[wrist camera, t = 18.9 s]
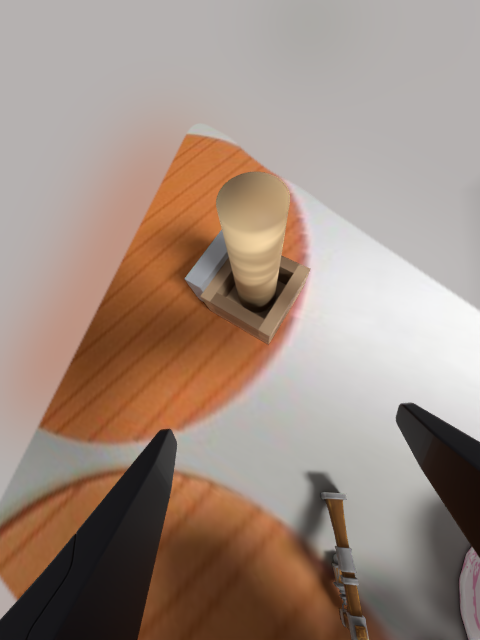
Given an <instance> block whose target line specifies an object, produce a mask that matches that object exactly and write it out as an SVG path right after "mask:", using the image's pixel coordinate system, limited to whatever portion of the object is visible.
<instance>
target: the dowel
mask: <svg viewBox="0 0 480 640" xmlns="http://www.w3.org/2000/svg"><path fill="white" fill-rule="evenodd" d="M289 204H290V194H289V190H288V188H287V186H286V185H285V184H284V183H283V181H281V180H280V179H279V178H277V177H276V176H274V175H271V174H268V173H264V172H248V173H243V174H240V175H238V176H236V177H234V178H232V179H230V180H229V181H228V182H226V183H225V184H224V185H223V187H222V188H221V189H220V191H219V193H218V196H217V199H216V207H217V212H218V216H219V220H220V224H221V228H222V232H223V236H224V240H225V244H226V248H227V252H228V256H229V260H230V264H231V268H232V272H233V276H234V280H235V284H236V288H237V292H238V296H239V300H240V303H241V305H242V306H243V307H244V308H246V309H247V310H249V311H251V312H254V313H259V312H263V311H266V310H267V309H269V308H270V307H271V305H272V304H273V302H274V299H275V292H276V286H277V280H278V273H279V267H280V261H281V254H282V248H283V242H284V235H285V229H286V223H287V216H288V210H289Z"/></svg>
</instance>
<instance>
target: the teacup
mask: <svg viewBox="0 0 480 640" xmlns="http://www.w3.org/2000/svg"><path fill="white" fill-rule="evenodd" d="M459 590H460V612H461V616H462V619H463V623H464V626H465V630H466V633H467V636H468V640H480V558H479V557H478V555H477V553H476V552H475V550H474V549H473V547H471V548H470V550H469V551H468V552H467V554H466V556H465V560H464V564H463V568H462V571H461V575H460V579H459Z"/></svg>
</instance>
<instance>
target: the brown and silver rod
mask: <svg viewBox="0 0 480 640" xmlns="http://www.w3.org/2000/svg"><path fill="white" fill-rule="evenodd" d="M320 495H321V499H325V501H326V504H327V507H328V510H329V514H330V518H331V522H332V526H333V530H334V534H335V539H336V544H337V546H335V548H336V552H337V554H334V557H333V559H334V562H335V563H332V566H333V570H334V575H335V582H333V584H334V585H335V586H336V587H337V588H339V589H340V591H339V592H340V593H341V594H339V596H340V597H341V598H342V599H343V601H344V602H343V604H342V608H339V612H340V619H341V620H342V624H343V625H344V626H345V627H347V628H348V629H349V630H350V633H351V640H369V637H368V632H367V627H366V618H365V617H364V616H363V615H362V611H361V606H360V600H359V595H358V590H357V585H359V583H358V579H357V578H356V577H355V573H357V572H356V569H355V566H354V562H353V557H352V549H351V548H349V544H348V539H347V534H346V526H345V519H344V511H343V500H347V499H346V494H344V493H327V492H323V493H320ZM346 600H347V603H346ZM344 605H345V606H346V605H347V609H344Z"/></svg>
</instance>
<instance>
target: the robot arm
mask: <svg viewBox="0 0 480 640" xmlns="http://www.w3.org/2000/svg"><path fill="white" fill-rule="evenodd" d="M396 422H397V425H398V427H399V428H400V430H401V432H402V434H403V436H404V438H405V440H406V442H407V443H408V445H409V447H410V449H411V451H412V453H413V455H414V456H415V458H416V460H417V462H418V464H419V466H420V467H421V469H422V470H423V472H424V474H425V475H426V477H427V478H428V480H429V481H430V483H431V484H432V486H433V488H434V489H435V491H436V492H437V494H438V495H439V497H440V498H441V500H442V501H443V503H444V504H445V506H446V507H447V509H448V511H449V512H450V514H451V515H452V517H453V518H454V520H455V521H456V523H457V524H458V526H459V527H460V529H461V530H462V532H463V534H464V535H465V537H466V538H467V540H468V541H469V543H470V544H471V546H472V547H473V549H474V550H475V552H476V553H477V555H478V557H479V558H480V442H479V441H477V440H475V439H474V438H472V437H470V436H469V435H467V434H465V433H463V432H462V431H460V430H458V429H457V428H455V427H453V426H452V425H450V424H448V423H446V422H445V421H443V420H441V419H440V418H438V417H436V416H435V415H433V414H431V413H429V412H428V411H426V410H424V409H423V408H421V407H419V406H418V405H416V404H414V403H401V404H400V405H399V407H398V411H397V415H396ZM176 450H177V441H176V439H175V437H174V434H173V432H172V430H171V429H162V430H160V431H159V432H158V433H157V434H156V436H155V437H154V438H153V439H152V440H151V442H150V443H149V444H148V445H147V447H146V448H145V449H144V450H143V451H142V453H141V454H140V455H139V456H138V457H137V459H136V460H135V461H134V462H133V464H132V465H131V466H130V467H129V468H128V470H127V471H126V472H125V473H124V475H123V476H122V477H121V478H120V479H119V481H118V482H117V483H116V484H115V486H114V487H113V488H112V489H111V490H110V492H109V493H108V494H107V495H106V497H105V498H104V499H103V500H102V501H101V503H100V504H99V505H98V506H97V508H96V509H95V510H94V511H93V512H92V514H91V515H90V516H89V517H88V518H87V520H86V521H85V522H84V523H83V525H82V526H81V527H80V528H79V529H78V531H77V533H76V534H74V535H73V537H72V538H71V539H70V540H69V542H68V543H67V544H66V545H65V546H64V548H63V549H62V550H61V551H60V552H59V554H58V555H57V556H56V557H55V558H54V560H53V561H52V562H51V563H50V564H49V565H48V567H47V568H46V569H45V570H44V571H43V573H42V574H41V575H40V576H39V577H38V578H37V579H36V580H35V582H34V583H33V584H32V585H31V586H30V587H29V588H28V589H27V591H26V592H25V593H24V594H23V595H22V596H21V597H20V599H19V600H18V601H17V602H16V603H15V604H14V605H13V606H12V607H11V608H10V610H9V611H8V612H7V613H6V614H5V615H4V616H3V617H2V618H1V619H0V640H137V639H138V635H139V630H140V626H141V621H142V617H143V612H144V608H145V604H146V599H147V595H148V590H149V586H150V582H151V577H152V573H153V568H154V564H155V559H156V555H157V551H158V546H159V542H160V537H161V533H162V529H163V524H164V520H165V515H166V511H167V506H168V502H169V498H170V493H171V487H172V480H173V473H174V465H175V458H176Z"/></svg>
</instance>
